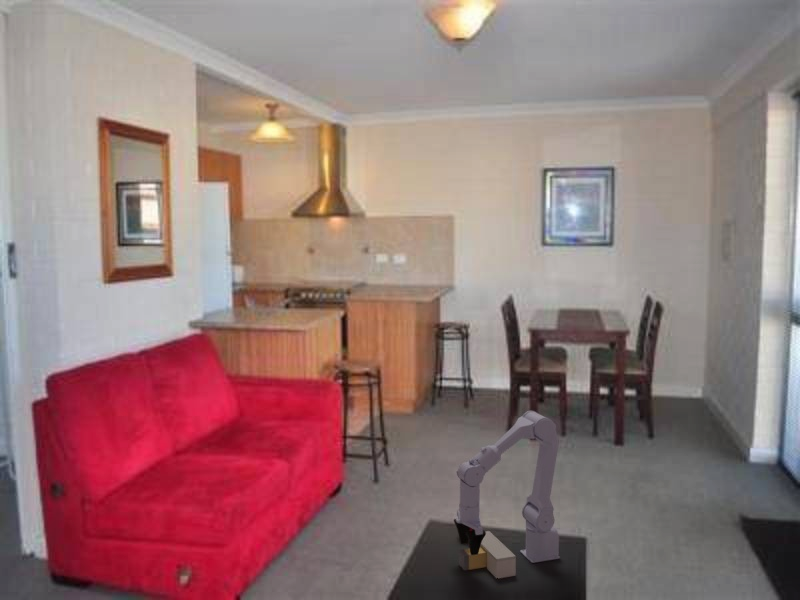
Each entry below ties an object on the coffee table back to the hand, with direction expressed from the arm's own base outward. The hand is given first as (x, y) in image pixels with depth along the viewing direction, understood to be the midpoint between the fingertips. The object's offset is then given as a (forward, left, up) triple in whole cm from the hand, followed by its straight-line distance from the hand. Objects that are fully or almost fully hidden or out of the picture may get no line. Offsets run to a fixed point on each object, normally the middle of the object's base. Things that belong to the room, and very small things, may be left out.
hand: (469, 548), depth 206 cm
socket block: (-8, 0, -6) cm, 9 cm away
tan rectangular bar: (-3, 0, -5) cm, 6 cm away
